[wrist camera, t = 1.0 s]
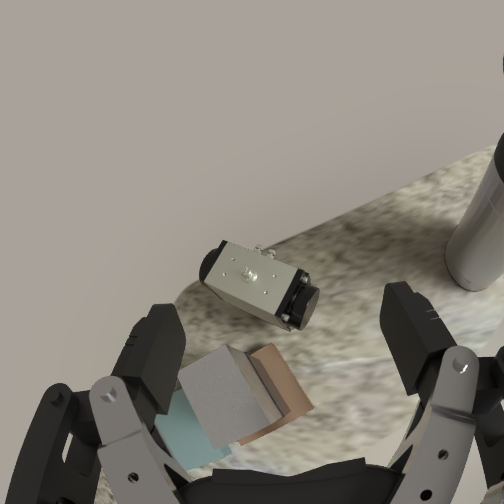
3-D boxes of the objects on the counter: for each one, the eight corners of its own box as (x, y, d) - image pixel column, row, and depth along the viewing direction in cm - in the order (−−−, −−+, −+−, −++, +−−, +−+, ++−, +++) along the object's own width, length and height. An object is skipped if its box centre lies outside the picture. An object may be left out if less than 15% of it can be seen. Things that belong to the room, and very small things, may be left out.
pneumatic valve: (306, 344, 31) (294, 321, 21) (225, 306, 36) (182, 269, 26) (325, 303, 33) (322, 262, 23) (245, 270, 38) (212, 222, 28)
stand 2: (275, 345, 32) (271, 342, 30) (314, 407, 27) (312, 408, 25) (213, 381, 32) (205, 380, 30) (247, 442, 27) (241, 445, 25)
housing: (259, 358, 30) (225, 342, 20) (292, 411, 26) (273, 424, 16) (222, 379, 29) (174, 371, 20) (252, 432, 26) (214, 451, 16)
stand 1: (196, 386, 32) (186, 385, 30) (232, 453, 27) (225, 457, 25) (140, 412, 32) (130, 412, 30) (170, 474, 26) (160, 478, 24)
